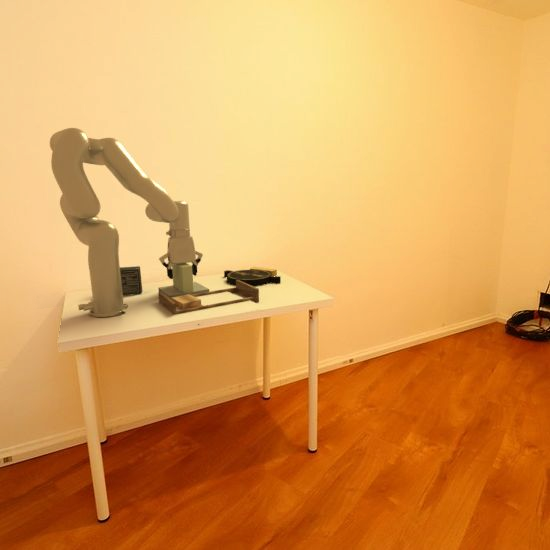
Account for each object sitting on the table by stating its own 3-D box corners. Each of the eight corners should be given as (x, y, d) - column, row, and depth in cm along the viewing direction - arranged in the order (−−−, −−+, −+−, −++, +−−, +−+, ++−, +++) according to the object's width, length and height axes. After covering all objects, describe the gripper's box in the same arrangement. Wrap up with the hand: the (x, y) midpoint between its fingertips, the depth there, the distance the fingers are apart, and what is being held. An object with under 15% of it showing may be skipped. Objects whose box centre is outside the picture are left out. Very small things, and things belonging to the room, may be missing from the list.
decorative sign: (292, 270, 180) (266, 283, 159) (292, 277, 181) (267, 290, 160) (240, 265, 194) (210, 275, 172) (240, 271, 194) (210, 282, 173)
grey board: (169, 302, 144) (169, 295, 143) (158, 293, 155) (158, 287, 154) (209, 295, 152) (209, 289, 151) (196, 287, 163) (195, 281, 163)
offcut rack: (174, 318, 126) (173, 303, 125) (159, 305, 140) (158, 292, 139) (258, 301, 143) (258, 288, 142) (238, 291, 157) (238, 279, 156)
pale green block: (183, 292, 147) (181, 267, 145) (173, 285, 157) (171, 261, 154) (193, 291, 149) (192, 265, 147) (182, 284, 159) (181, 260, 157)
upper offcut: (183, 309, 131) (182, 303, 131) (171, 303, 138) (171, 297, 137) (201, 305, 135) (200, 299, 135) (189, 299, 142) (189, 294, 142)
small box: (142, 290, 161) (140, 265, 158) (141, 294, 154) (139, 268, 152) (115, 291, 158) (113, 267, 156) (113, 296, 152) (110, 270, 150)
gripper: (160, 236, 140) (164, 281, 144) (204, 232, 149) (206, 275, 153) (154, 234, 146) (158, 277, 150) (197, 231, 156) (199, 272, 159)
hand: (182, 276), depth 152 cm, fingers open, 9 cm apart
